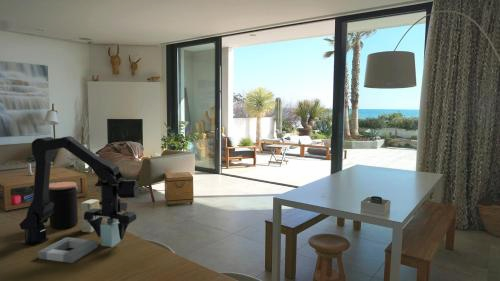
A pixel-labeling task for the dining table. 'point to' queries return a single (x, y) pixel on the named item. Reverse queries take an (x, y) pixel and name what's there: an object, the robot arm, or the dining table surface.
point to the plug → (110, 233)
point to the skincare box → (85, 207)
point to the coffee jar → (63, 205)
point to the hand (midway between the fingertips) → (110, 238)
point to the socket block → (58, 254)
